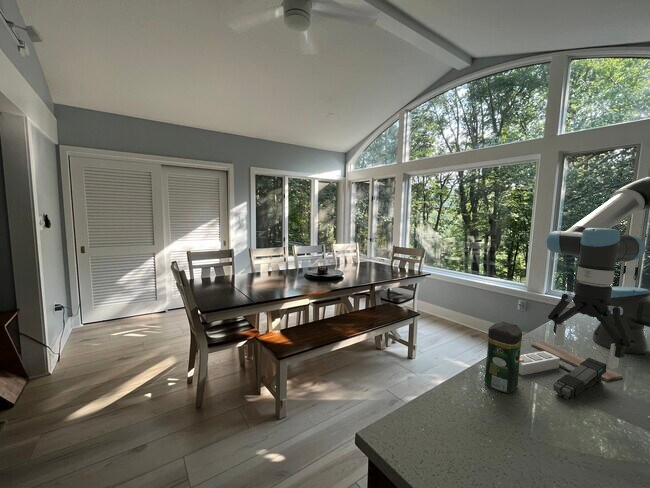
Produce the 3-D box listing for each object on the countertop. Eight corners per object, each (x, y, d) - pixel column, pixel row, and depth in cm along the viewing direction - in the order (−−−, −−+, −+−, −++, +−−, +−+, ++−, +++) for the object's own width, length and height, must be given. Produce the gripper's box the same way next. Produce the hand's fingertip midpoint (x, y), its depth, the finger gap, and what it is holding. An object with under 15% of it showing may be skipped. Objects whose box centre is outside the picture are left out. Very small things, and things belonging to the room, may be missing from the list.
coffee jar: (491, 373, 92) (496, 317, 90) (520, 384, 86) (526, 325, 84) (479, 384, 86) (484, 325, 84) (510, 398, 80) (516, 334, 78)
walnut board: (544, 343, 113) (545, 341, 113) (621, 377, 90) (622, 375, 90) (531, 345, 111) (531, 343, 111) (606, 381, 88) (607, 378, 88)
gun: (608, 383, 87) (607, 355, 85) (572, 421, 80) (570, 393, 77) (589, 375, 91) (588, 349, 89) (554, 411, 84) (551, 384, 82)
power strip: (547, 359, 101) (549, 348, 100) (587, 378, 90) (588, 366, 89) (508, 366, 96) (509, 355, 95) (544, 388, 84) (545, 375, 84)
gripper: (539, 274, 91) (531, 337, 94) (644, 297, 68) (631, 381, 70) (556, 273, 94) (548, 335, 96) (664, 295, 70) (650, 377, 72)
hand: (583, 355), depth 83 cm, fingers open, 13 cm apart
